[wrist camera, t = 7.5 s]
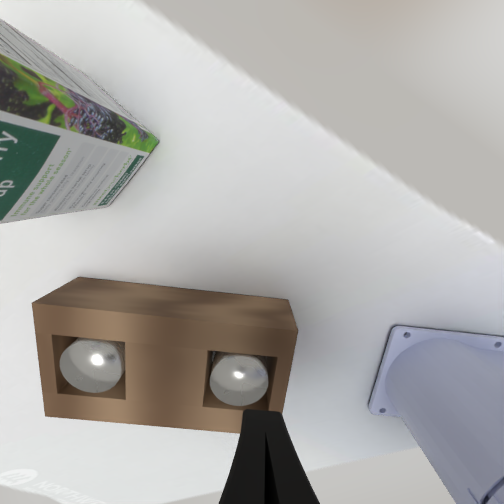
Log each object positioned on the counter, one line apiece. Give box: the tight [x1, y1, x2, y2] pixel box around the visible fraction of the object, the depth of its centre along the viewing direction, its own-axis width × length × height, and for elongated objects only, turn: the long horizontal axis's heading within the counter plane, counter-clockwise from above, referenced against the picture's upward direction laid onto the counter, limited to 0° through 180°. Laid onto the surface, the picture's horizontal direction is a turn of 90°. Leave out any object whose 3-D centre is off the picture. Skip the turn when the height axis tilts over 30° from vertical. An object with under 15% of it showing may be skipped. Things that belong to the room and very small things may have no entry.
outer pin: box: [60, 337, 125, 393], centre depth 17 cm, size 4×4×4 cm
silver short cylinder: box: [210, 351, 268, 406], centre depth 18 cm, size 4×4×4 cm
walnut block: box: [32, 277, 298, 433], centre depth 17 cm, size 15×8×4 cm, turn 83°
